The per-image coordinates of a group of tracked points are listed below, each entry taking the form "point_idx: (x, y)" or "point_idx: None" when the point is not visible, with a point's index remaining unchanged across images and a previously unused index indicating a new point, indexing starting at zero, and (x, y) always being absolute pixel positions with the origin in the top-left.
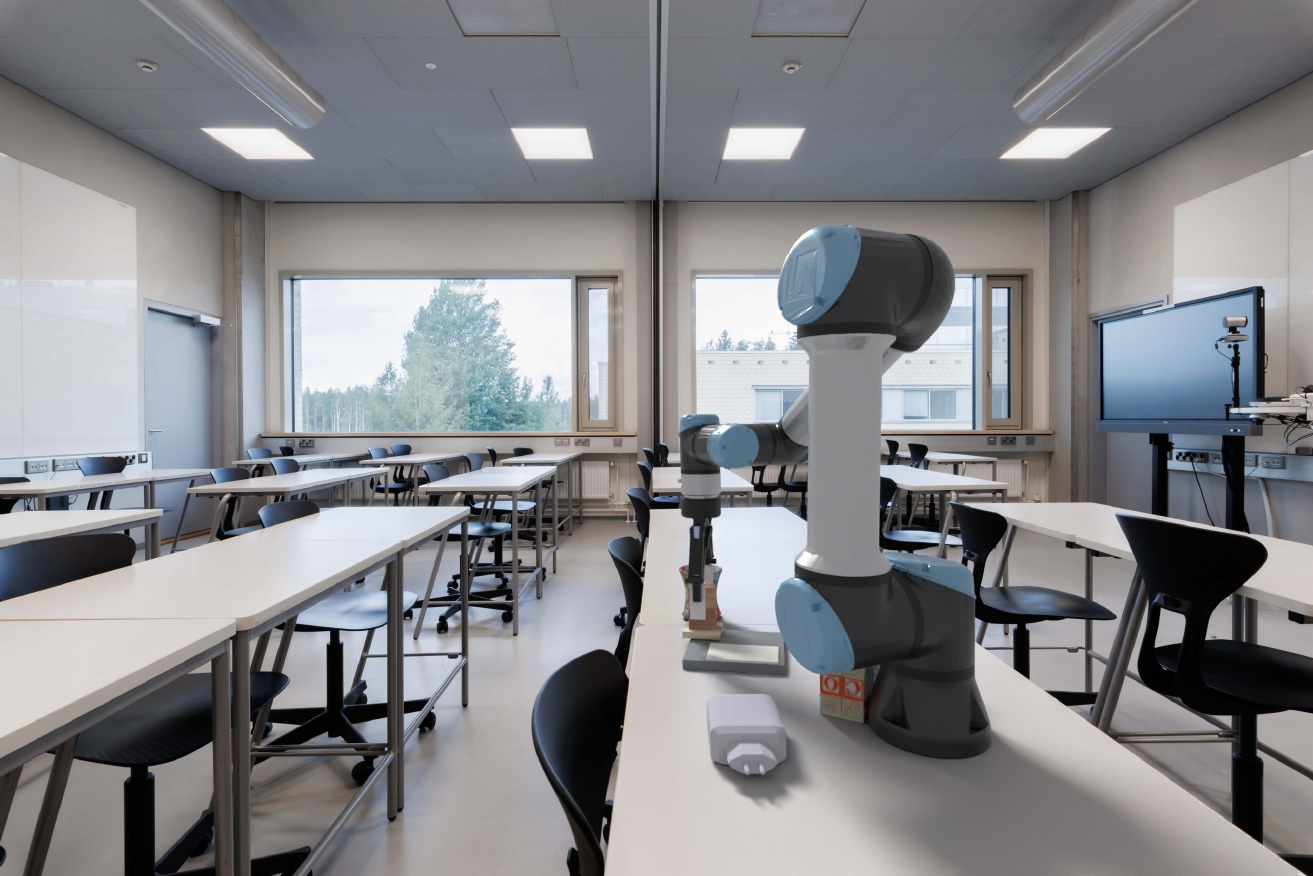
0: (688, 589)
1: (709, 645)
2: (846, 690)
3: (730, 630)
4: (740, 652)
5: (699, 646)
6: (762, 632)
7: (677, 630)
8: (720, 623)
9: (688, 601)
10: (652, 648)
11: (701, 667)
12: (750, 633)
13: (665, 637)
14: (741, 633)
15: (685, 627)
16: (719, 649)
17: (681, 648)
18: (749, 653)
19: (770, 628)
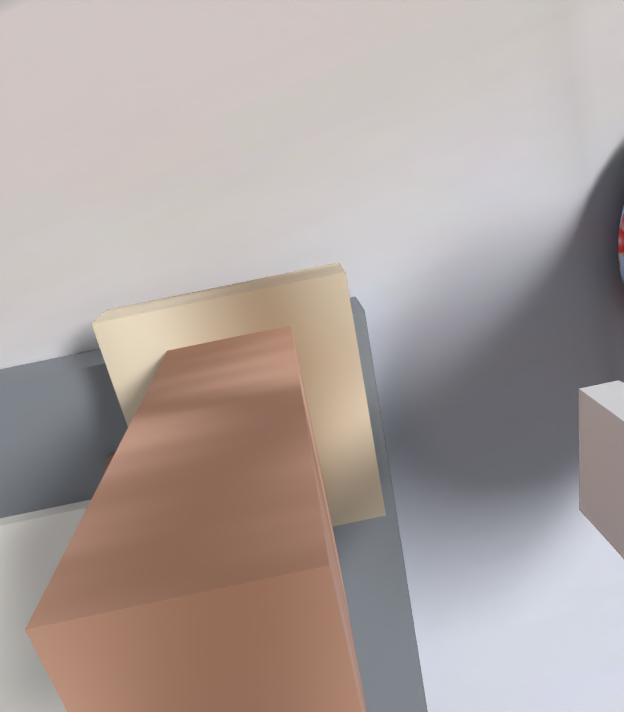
0: (41, 598)
1: (90, 494)
2: None
3: (391, 520)
4: (35, 671)
5: (43, 449)
6: (407, 658)
7: (436, 134)
8: (371, 505)
9: (105, 473)
10: (11, 88)
11: None
12: (372, 618)
13: (265, 99)
14: (358, 582)
15: (194, 313)
16: (19, 578)
17: (112, 289)
18: (46, 705)
19: (579, 611)
